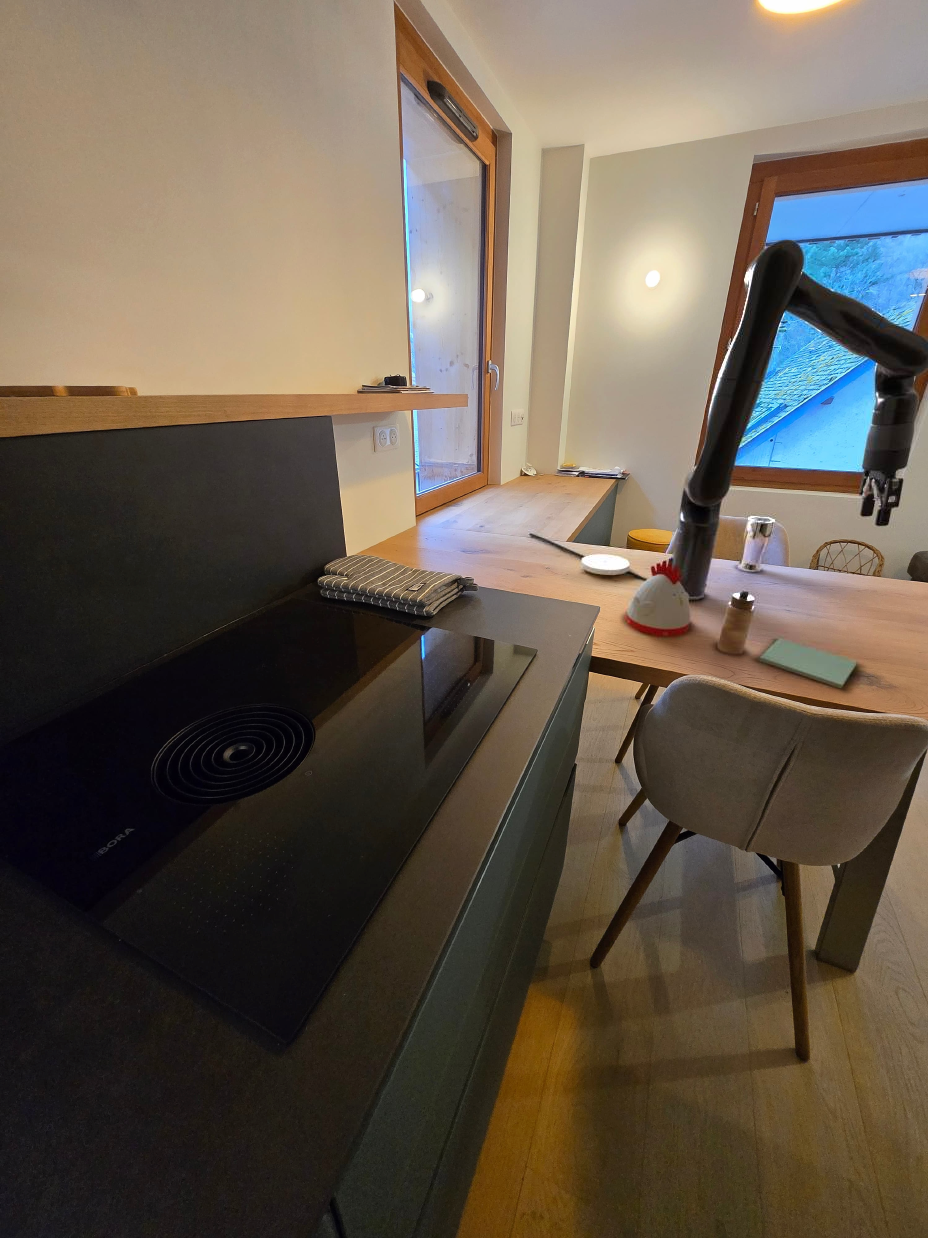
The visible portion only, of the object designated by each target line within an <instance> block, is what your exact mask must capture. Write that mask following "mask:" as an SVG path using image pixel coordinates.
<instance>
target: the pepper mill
mask: <svg viewBox="0 0 928 1238" xmlns="http://www.w3.org/2000/svg"><path fill="white" fill-rule="evenodd" d="M755 599H756V598H755V597H754V596H753V595H751V594H749V591H748V590H741V591H740V592H735V593H733V594H732V595H731V600H730V601H729V602H728V603H727V606H726V610H725V615H724V618H723V622H722V627H721V631H720V635H719V638H718V643H717V649H718V650H720V651H721V652H723V653H726V654H729V655H741V654H743V652H744V649H745V646H746V641H747V637H748V634H749V630H750V626H751V624H752V623H751V622H752V619H753V617H754V612H755V606H754V603H755Z"/></svg>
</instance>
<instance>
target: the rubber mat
mask: <svg viewBox="0 0 928 1238" xmlns="http://www.w3.org/2000/svg"><path fill="white" fill-rule="evenodd" d="M759 662H762V663H764V664H767V665H769V666H770V665H771V666H773V667H777V668H780V669H782V670H785V671H788V672H791V673H793V674H797V675H800V676H803V677H805V678H809V679H811V680H815V681H817V682H820V683H824V684H827V685H830V686H832V687H835V688H838V689H842V688H843V686H844V685H845V684H846V682H847V681H848V679H849V678H850V676H851V674H852V673H853V671H854V670H855V668H856V666H857V665H858V661H857V660H854V659H850V658H847V657H844V656H841V655H839V654H834V653H831V652H828V651H826V650H825V651H824V650H822V649H819V648H814V647H811V646H808V645H804V644H801V643H798V642H795V641H792V640H788V639H785V638H781V637H779V638H778V639H777V640H776V641H775V642H774V643H773V644H772V645H771V646H769V648H767V650H766V651H765V652H764V653H763V654H762V655H761V656H760V657H759Z"/></svg>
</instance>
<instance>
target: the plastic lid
mask: <svg viewBox="0 0 928 1238" xmlns="http://www.w3.org/2000/svg"><path fill="white" fill-rule="evenodd" d="M584 556H585V557H583V558H581V560H580V567H581V568H582V569H583V570H584V571H586V572H589V573H592V574H596V575H597V574H598V575H604V576H606V575H607V576H615V575H616V576H617V575H623V574H626V573H625V572H627V571H630V566H631V563H630V561H629V560H628V559H626V558H623V557H621V556H618V555H612V554H603V553H602V554H601V553H600V554H599V553H598V554H589V555H584Z"/></svg>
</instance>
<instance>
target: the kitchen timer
mask: <svg viewBox="0 0 928 1238" xmlns="http://www.w3.org/2000/svg"><path fill="white" fill-rule="evenodd" d="M678 568H679V566H675V567H674V569H673V571H672V562H670V563H668V561H667V560H665V559H664V560H662V562H657V563H656V567H655V565H651V566H650V571H651V577H649V578H647V579H648V580H646V581H645V580H644V581H643V582H642V584H640V585H639V586H638V588H637V590H636V591H635V593H634V594H633V596H632V598H631V600H630V602H629V604H628V606H627V610H626V616H625V620H626V622H627V624H628V625H629V626H631V627H632V628H633V629H635V630H637V631H639V632H642V633H645V634H650V635H655V636H666V637H667V636H668V637H671V636H679V635H681V634H684V633H685V632H687V631H688V630H689V627H690V622H691V610H690V609H691V608H690V602H689V601H690V600H689V595H688V593H687V592H685V590H684V588H683V587H682V585H681V584H680V582H679V579H680V578H681V577H682V575H683V573H681V574H679V575H678Z"/></svg>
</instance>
